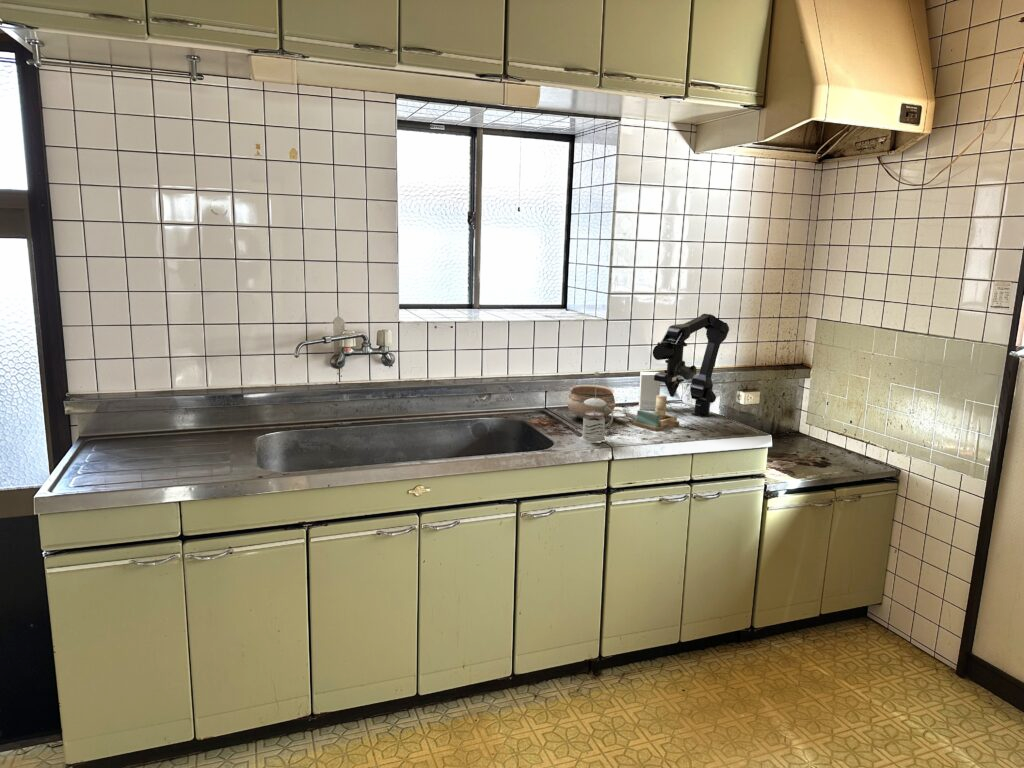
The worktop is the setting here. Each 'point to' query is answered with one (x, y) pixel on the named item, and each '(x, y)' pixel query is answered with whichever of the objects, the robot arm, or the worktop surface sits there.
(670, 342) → the robot arm
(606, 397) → the cooking pot
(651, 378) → the skincare box
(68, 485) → the worktop surface
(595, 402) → the french press
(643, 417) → the cradle
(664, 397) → the peg
